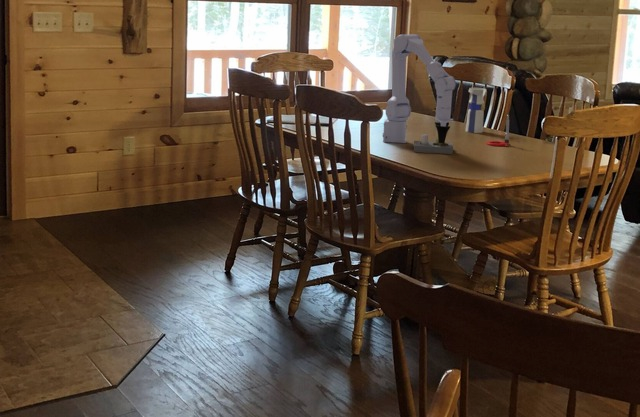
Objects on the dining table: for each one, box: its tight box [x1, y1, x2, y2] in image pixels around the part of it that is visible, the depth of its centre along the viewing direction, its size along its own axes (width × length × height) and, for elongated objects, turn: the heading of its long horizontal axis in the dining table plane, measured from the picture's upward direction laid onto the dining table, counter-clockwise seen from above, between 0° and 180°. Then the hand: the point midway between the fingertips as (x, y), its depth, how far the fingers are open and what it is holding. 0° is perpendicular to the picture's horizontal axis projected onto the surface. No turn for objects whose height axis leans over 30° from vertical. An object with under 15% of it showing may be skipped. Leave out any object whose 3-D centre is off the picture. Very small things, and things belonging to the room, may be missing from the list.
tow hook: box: [485, 114, 510, 147], centre depth 360 cm, size 8×13×9 cm
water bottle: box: [465, 76, 488, 134], centre depth 389 cm, size 8×9×25 cm
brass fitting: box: [434, 128, 449, 146], centre depth 342 cm, size 4×4×9 cm
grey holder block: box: [413, 134, 454, 155], centre depth 343 cm, size 15×11×6 cm
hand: (441, 141), depth 343 cm, fingers open, 6 cm apart
